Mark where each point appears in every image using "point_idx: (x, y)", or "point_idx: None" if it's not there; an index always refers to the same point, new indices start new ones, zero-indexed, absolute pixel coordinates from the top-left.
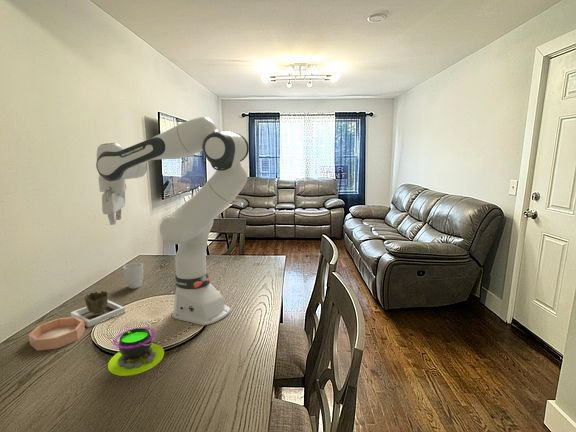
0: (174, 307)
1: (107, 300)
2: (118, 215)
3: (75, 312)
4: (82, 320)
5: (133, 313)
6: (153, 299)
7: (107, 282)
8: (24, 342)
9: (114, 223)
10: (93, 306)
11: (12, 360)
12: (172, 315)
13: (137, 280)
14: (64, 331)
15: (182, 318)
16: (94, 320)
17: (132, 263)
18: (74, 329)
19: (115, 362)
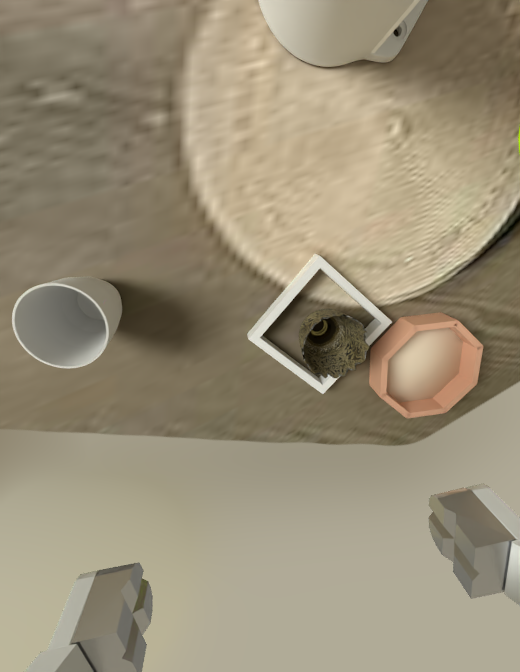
0: (384, 40)
1: (324, 311)
2: (106, 657)
3: (326, 381)
4: (409, 331)
5: (327, 222)
6: (225, 185)
7: (66, 410)
8: None
9: (490, 492)
10: (356, 335)
11: (480, 395)
12: (394, 56)
13: (109, 287)
14: (405, 359)
15: (424, 6)
16: (380, 311)
17: (24, 344)
18: (454, 326)
19: None
